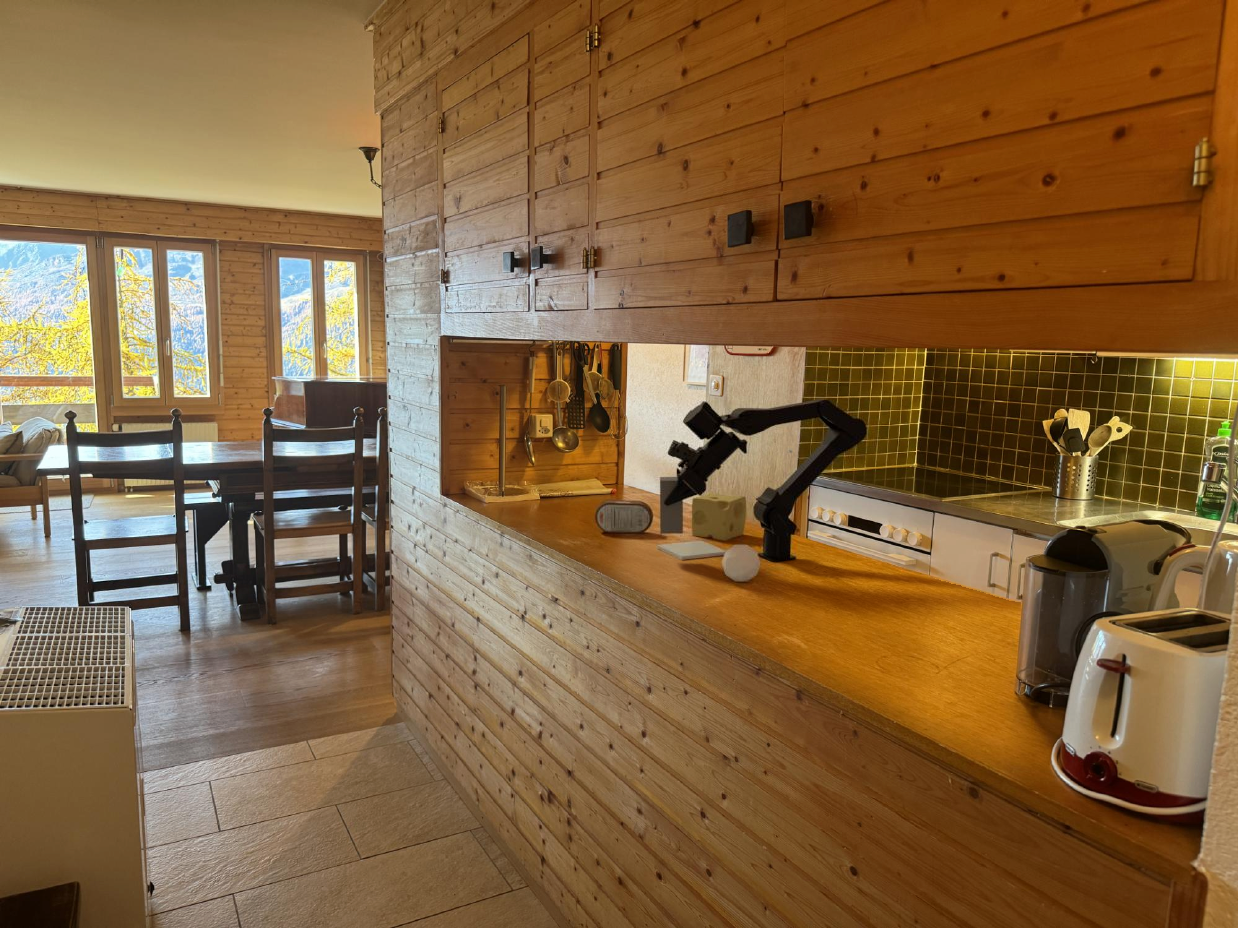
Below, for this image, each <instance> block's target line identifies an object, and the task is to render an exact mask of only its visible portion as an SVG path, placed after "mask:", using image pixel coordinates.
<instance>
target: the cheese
mask: <svg viewBox="0 0 1238 928" xmlns="http://www.w3.org/2000/svg"><path fill="white" fill-rule="evenodd" d="M746 499H747V498H746V496H743V495H729V494H728V495H727V494H719V493H707V494H705V495H701V496H698V497H693V498H692V502H691V533H692V534H691V535H692V536H694V537H701V538H712V539H713V540H719V541H722V542H726V541H729V540H730V539H733V538H736V537H739V536H743V535H744V533H745V524H746V519H747V501H746Z"/></svg>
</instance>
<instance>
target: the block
mask: <svg viewBox="0 0 1238 928" xmlns="http://www.w3.org/2000/svg"><path fill="white" fill-rule="evenodd" d="M676 485H677V476H660V477H659V516H660V517H659V519H660V520H659V523H660V525H659V527H660V528H659V530H660V532H659V533H660V534H662V535H663V534H676V535H677V534H678V535H679V534H680V535H681V534H683V533H684V513H683V512H684V500H682V501H679V502H676V503H674V504H672V505H669V506H666V505H665V504H664V502H665V500H666V499H667V497H668V496H669V494H670V493H671V492H672V490H673V489H674V487H675V486H676Z"/></svg>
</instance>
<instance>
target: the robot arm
mask: <svg viewBox="0 0 1238 928" xmlns="http://www.w3.org/2000/svg"><path fill="white" fill-rule="evenodd" d="M811 419H812V420H813V419H819V420H820V421H821V423H823V424H824V425H825V426H826V427H828V429H827V430H826V432H825V436H824V438H823V440H822V442H821V444H820V445H819V446H818V447H816V449H815V450H814V451H813V452H812V453H811V454H809V456H808V457H807V458H806V459H805V460H804V462H803V463H801V464H800V466H799V467H798V468H797V469H796V470H795V471H794V472H793V473H792V474H791V475H790V476H789V477H788V479H786V480H785V482H783V484H781V486H779V487H778V488H775V489H773V488H772V487H769V486H767V487H766V488H765V489H764V491H763V493H762V494H761V495H760V496H758V497H756V498H755V501H756V502H755V504H754V505H753V510H752V511H753V516H754V518H755V519H756V520H757V521H758V522H759V523H760V527H761V528H762V529H763V538H762V539H763V540H762V541H763V542H762V552H757V554H758V557H761V558H763V559H765V560H768V561H770V562H781V561H782V562H783V561H790V560H796V559H797V556H795V555H792V554H791V553H792V552H791V551H792V550H791V548H792V547H791V546H792V536H793V535H795V534H796V533H795V532H796V530H797V527H798V526H797V524H796V523H794V521H793V520H792V519H790V516H791V514H792V512H793V509H794V507H795V504H796V501H797V500H798V498H800V497H801V496H802V494H804V492H805V491H806V490H807V489H808V488H809V487H810V486H811V485H812V484H813V483H814V482H815V481H816V479H818V478H819V477H820V475H821V474H822V473H823V472H824V471H825V470H826V469H828V467H829V466H830V465H831V464H832V463H833V462H834V461H835V459H837V458H838V457H839V455H842V454H844V453H846V452H847V451H850V450H851V449H853V448H855V447H856V446H857V445H859V444H861V442H863V441H864V440H865V439H866V437H867V434H868V432H867V429H868V427H867V424H866V423H865V421H864V420H862V419H861V418H858V417H855V416H852V415H850V413H848V412H846V411H844V410H843V409H841V408H840V407H838V406H836V405H835V404H834V403H832V401H831V400H829V399H825V398H815V399H813V400H809V401H802V402H797V403H793V404H785V405H781V406H774V407H769V408H761V407H760V408H758V407H739V408H735V409H733V410H732V411H731V413H728V414H724V415H723V414H722V415H719V414H718V413H717V412H716V411H715V410H714V409H713V408H712V406H711V405H710V403H709V402H707V401H702V402H701V403H700V404H698V405H697V406H695V407H694V408H692V409H690V410H689V411H688V412H687V414H686V415H685V417H684V418H683V420H682V423H683V424H684V425H685V426H686V427H687V428H688V429H689V430H690V431H691V432H692V433H693V434H694V435H696V437H697V438H698V439H699V440H701V441H703V440H705V439H706V440H709V441H707V442H706V444H704V445H703V446H699V447H698V448H696V449H695V448H692V447H691V446H689V443H685V442H684V441H680V442H679V441H677V440H675V439H672V441H671V444H670V446H669V448H668V450H667V455H668V456H670V457H672V458H676V459H678V460H680V461H679V462H678V463H677V467H676V477H677V485H676V486H675V487H674V489H673V490H672V492H671V493H670V494H669V496H668V497H667V499H666V500H665V502H664V504H665V505H666V506H669V505H672V504H674V503H676V502H679V501H682V500H683V501H684V500H686V499H689V498H691V497H695V496H697V495H698V497H701V496H703V494H704V493H705V492H707V491H706V490H707V482H708V481H709V480H708V478H710V477H711V476H712V474H714V473H715V472H716V471H719V470H720V469H721V468H722V465H723V464H724V463H725V462H726V461H727V460H729V458H730V457H731V456H732V455H733V454H734V453H735V452H736V451H737V450H738V449H739V450H740V451H741V452H742V453H743V454H748V451H747V447H748V440H746V439H745V438H744V439H741V438H740V437H738V435H737V434H739V435H742V436H745V437H749V436H754V435H757V434H759V433H762V432H765V431H766V430H769V429H770V428H772V427H776V426H780V425H784V424H791V423H796V422H800V421H806V420H807V421H808V420H811ZM721 426H722V427H721ZM723 427H724V428H728V429H730V430H731V431H728V432H727V431H725V429H723ZM734 432H735V433H734Z"/></svg>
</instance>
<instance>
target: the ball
mask: <svg viewBox="0 0 1238 928" xmlns="http://www.w3.org/2000/svg"><path fill="white" fill-rule="evenodd" d="M759 557H760V556H758V551H756V550H755V549H754V548H752V547H751V546H749V545H748V544H734V545H732V546H731V547H729V548H728V549H726V550H725V554H724V555H723V557H722V560H721V565H722V568H723V571H724V574H725V575H726V576H727V577H728V578H730V579H731V580H733V582H737V583H738V582H739V583H740V582H741V583H742V582H744V583H745V582H749V581H750V580H751V579H754V578H755V576H757V575H758V572H759V569H760V566H761V561H760V558H759Z"/></svg>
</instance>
